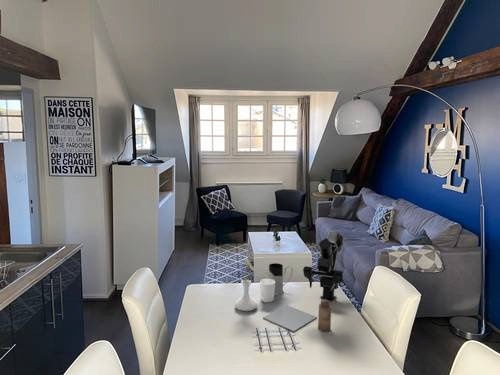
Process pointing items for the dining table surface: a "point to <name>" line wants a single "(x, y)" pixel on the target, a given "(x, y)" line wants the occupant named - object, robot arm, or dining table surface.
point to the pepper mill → (324, 316)
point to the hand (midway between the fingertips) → (320, 289)
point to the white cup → (267, 290)
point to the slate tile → (290, 318)
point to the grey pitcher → (278, 276)
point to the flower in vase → (246, 294)
